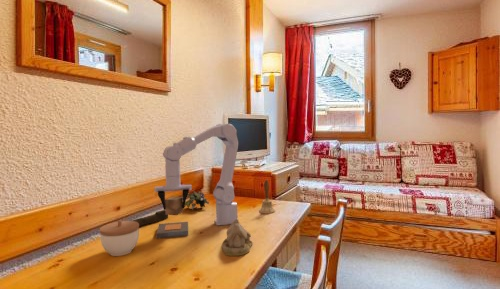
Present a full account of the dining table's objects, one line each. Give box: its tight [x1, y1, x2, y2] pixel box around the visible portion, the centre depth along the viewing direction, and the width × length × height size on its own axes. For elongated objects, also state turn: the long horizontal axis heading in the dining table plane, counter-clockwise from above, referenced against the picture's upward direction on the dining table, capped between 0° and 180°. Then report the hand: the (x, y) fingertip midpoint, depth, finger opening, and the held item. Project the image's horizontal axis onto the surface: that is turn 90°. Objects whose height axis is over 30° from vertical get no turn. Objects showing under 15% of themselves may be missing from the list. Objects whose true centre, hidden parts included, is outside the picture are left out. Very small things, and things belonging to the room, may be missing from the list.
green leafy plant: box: [185, 191, 210, 212], centre depth 159 cm, size 11×11×12 cm
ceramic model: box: [221, 219, 253, 257], centre depth 107 cm, size 14×11×10 cm
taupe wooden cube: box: [165, 196, 184, 216], centre depth 123 cm, size 5×5×6 cm
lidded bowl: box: [99, 219, 140, 257], centre depth 105 cm, size 13×13×11 cm
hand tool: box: [129, 209, 169, 227], centre depth 136 cm, size 19×4×5 cm, turn 137°
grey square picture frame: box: [155, 221, 189, 240], centre depth 124 cm, size 12×12×2 cm
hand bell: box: [258, 179, 276, 215], centre depth 152 cm, size 8×8×16 cm
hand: (174, 208), depth 123 cm, fingers closed on taupe wooden cube, 7 cm apart
